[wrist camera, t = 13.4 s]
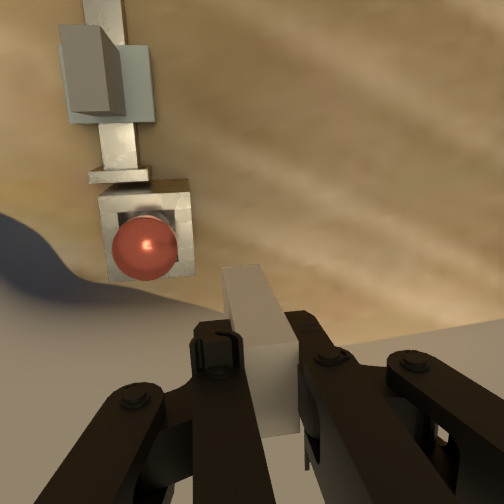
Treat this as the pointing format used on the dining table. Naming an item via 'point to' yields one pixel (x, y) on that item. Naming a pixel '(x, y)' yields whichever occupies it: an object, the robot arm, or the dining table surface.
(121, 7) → the rail
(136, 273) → the plunger
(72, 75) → the carriage
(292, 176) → the dining table surface
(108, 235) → the grey square housing
